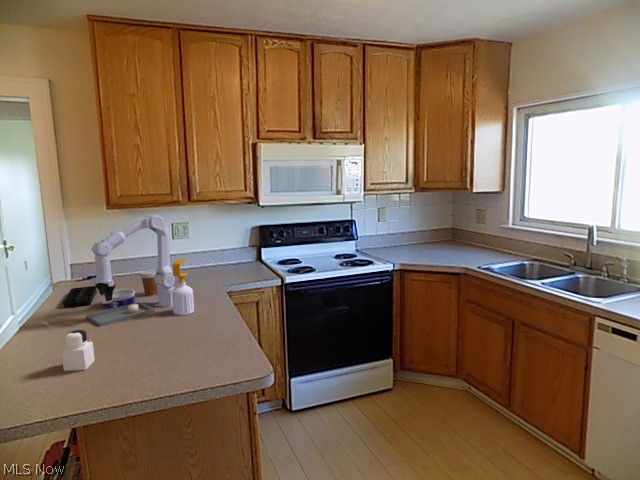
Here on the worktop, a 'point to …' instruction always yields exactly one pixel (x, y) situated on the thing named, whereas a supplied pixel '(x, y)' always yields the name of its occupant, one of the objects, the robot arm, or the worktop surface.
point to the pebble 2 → (133, 308)
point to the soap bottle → (181, 293)
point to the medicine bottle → (77, 351)
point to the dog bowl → (121, 298)
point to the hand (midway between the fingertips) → (106, 299)
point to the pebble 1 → (104, 300)
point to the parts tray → (118, 314)
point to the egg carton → (80, 297)
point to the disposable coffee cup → (149, 282)
